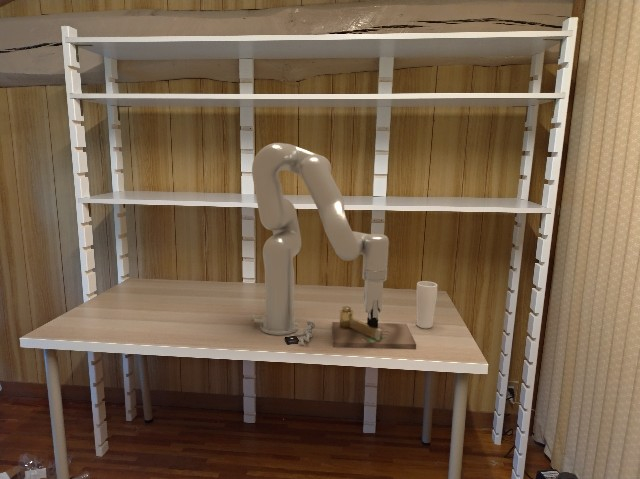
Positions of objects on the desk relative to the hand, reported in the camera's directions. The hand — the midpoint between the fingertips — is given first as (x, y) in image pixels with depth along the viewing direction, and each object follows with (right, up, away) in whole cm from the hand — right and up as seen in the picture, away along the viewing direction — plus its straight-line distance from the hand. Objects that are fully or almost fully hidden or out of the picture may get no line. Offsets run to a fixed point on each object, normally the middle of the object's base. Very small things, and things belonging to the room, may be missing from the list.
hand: (372, 330), depth 146 cm
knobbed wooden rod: (-4, -1, +1) cm, 4 cm away
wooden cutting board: (0, -2, +1) cm, 3 cm away
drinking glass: (+19, -1, +11) cm, 22 cm away
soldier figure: (-21, -3, -1) cm, 21 cm away
